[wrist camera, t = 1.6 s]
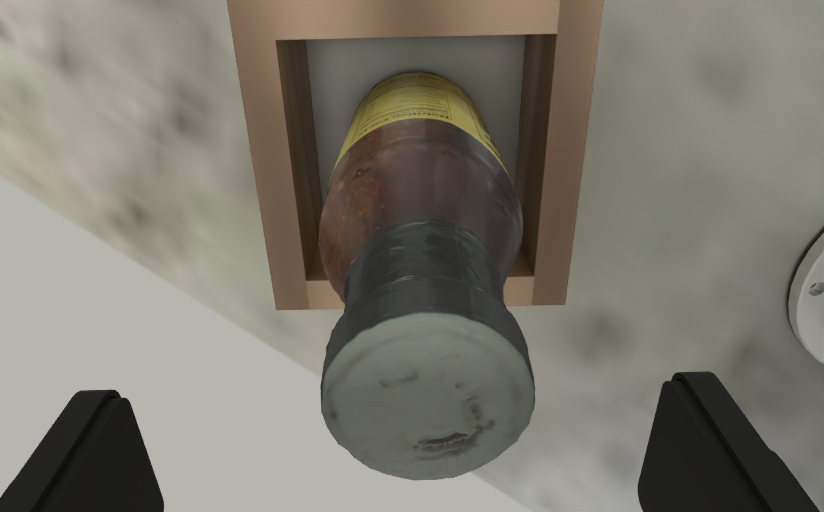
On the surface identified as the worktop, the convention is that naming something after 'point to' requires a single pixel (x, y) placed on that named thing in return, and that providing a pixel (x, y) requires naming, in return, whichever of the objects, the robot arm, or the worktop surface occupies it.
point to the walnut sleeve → (416, 17)
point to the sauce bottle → (422, 286)
